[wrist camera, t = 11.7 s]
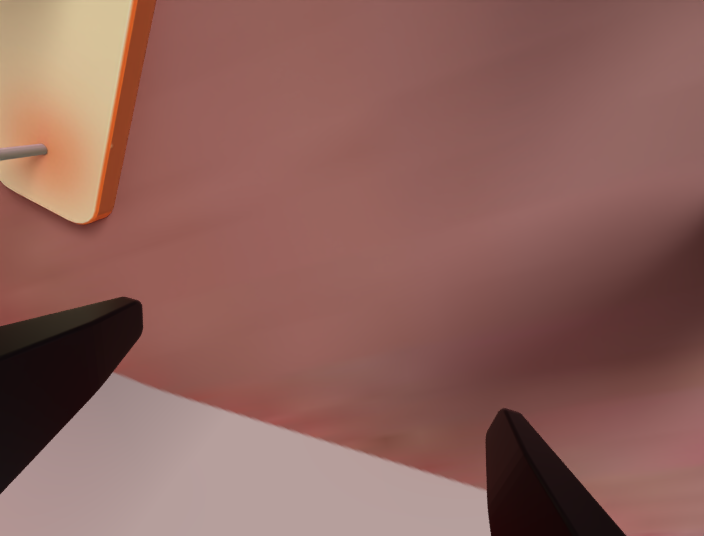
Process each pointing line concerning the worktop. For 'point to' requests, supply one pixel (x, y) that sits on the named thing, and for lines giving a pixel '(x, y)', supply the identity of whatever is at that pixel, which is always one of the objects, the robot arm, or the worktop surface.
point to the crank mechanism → (69, 99)
